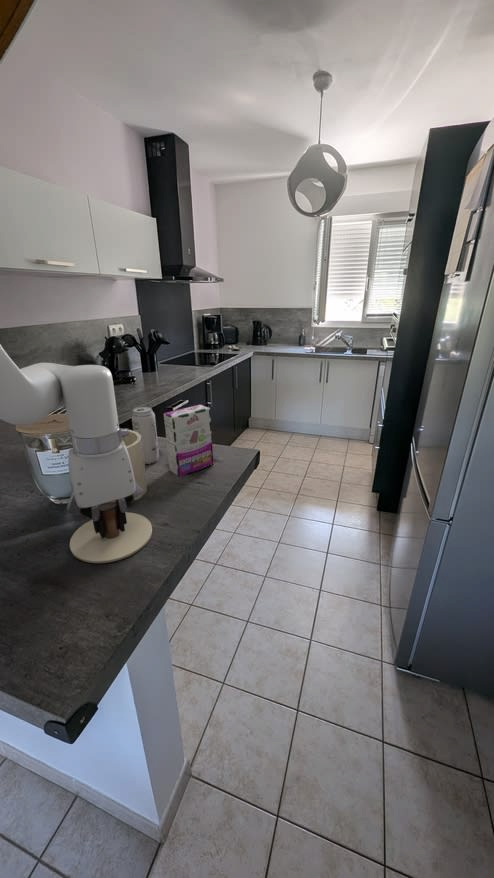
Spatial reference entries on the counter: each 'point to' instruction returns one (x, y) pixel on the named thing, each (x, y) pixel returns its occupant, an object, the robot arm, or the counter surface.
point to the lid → (111, 537)
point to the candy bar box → (189, 439)
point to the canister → (136, 460)
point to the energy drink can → (146, 432)
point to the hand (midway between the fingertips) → (111, 530)
